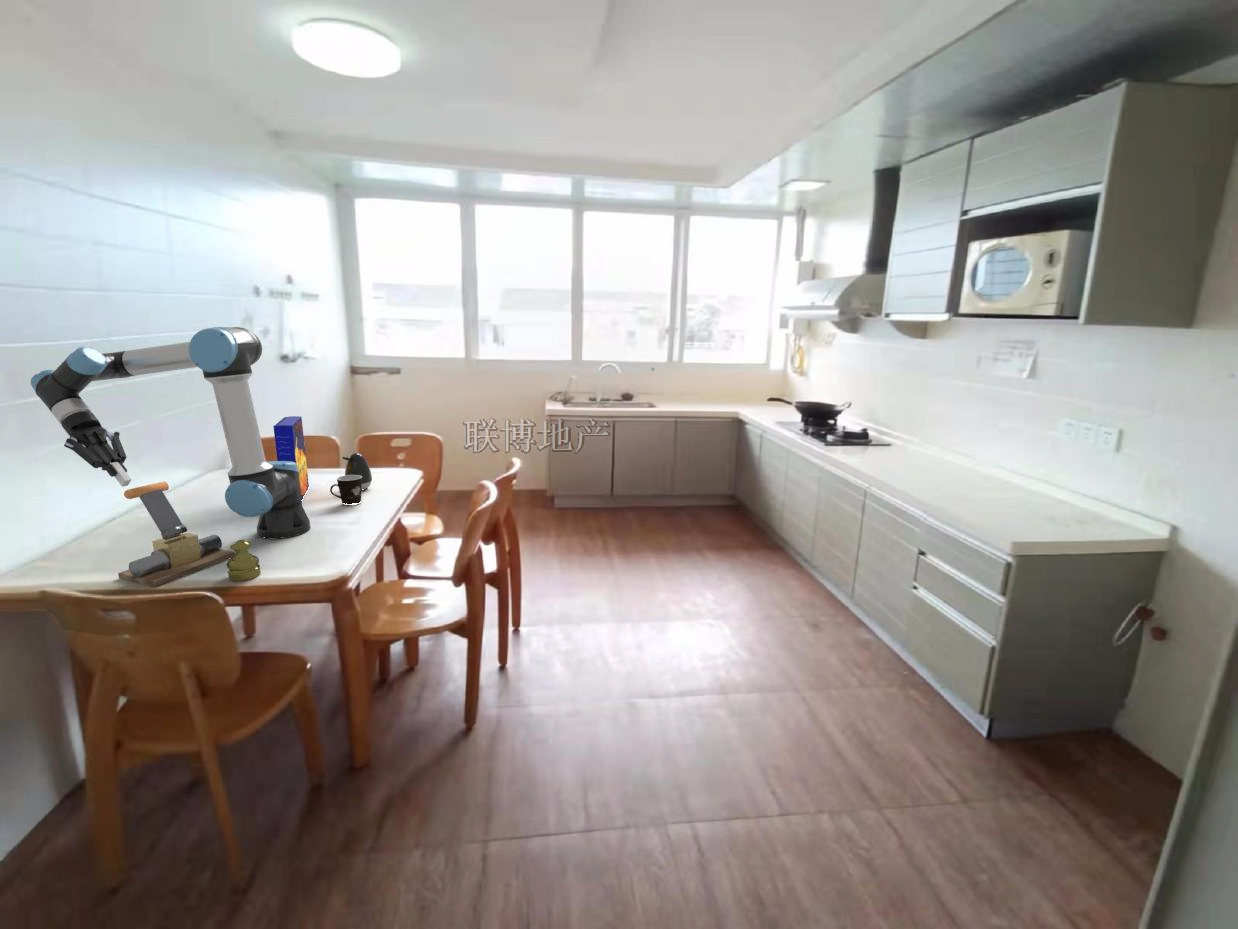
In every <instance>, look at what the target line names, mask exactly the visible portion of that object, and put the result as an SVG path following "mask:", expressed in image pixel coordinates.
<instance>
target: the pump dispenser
mask: <svg viewBox="0 0 1238 929" xmlns="http://www.w3.org/2000/svg"><path fill="white" fill-rule="evenodd" d="M342 460H345V461H347V462H346V466H345V469H344V476H345V475H360V476H362V489H366V488H367V489H369V488H368V487H370V486H371V484H372V481H373V476H372V472H371V471H372V470H371V469H370V466H369V463H368V461H367V459H366V458H365V456H364V455H363V454H362V453H359V452H354V453H352V454H351V455H350V456H342ZM367 489H366V490H367Z"/></svg>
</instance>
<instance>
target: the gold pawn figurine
mask: <svg viewBox="0 0 1238 929" xmlns="http://www.w3.org/2000/svg"><path fill="white" fill-rule="evenodd" d="M251 547H252V542H251V541H249V540H244V539H239V540H236V541H235V542H233V543H231V544H230V545H229V549H230V550H231V551H233V552H235V555H234V556H233V557H232V558H231V559H228V560H227V562H226V567H227V569H228V570H227V574H228V579H229V580H230V581H232V582H243V581H244V582H245V581H248V580H252V579H255V578H257V577H259V576H260V575H261V565H260V558H259V557H258V556H256V555H253V554H252V553H250V552H249V551H248V550H249V548H251Z"/></svg>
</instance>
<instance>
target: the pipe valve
mask: <svg viewBox="0 0 1238 929" xmlns="http://www.w3.org/2000/svg"><path fill="white" fill-rule="evenodd" d="M198 536H199V535H198V534H196V533H195V534H194V533H189V532H187V533H186V534H184V535H181V536H178V537H174V538H171V539H168V540H164V539H163V538H159V539H156V540H152V542H151V543H152V546H153V548H152V549H153V551H152V552H151V553H150V555H148V556H144V557H142V558H139V559H135V560H133V561H132V560H131V562H129V564H128V569H127V570H123V571H120V572H118V573H117V574H118V579H119V578H122V579H121V580H123V579H125V580H124V581H127V582H128V581H129V582H133V583H138V584H140V585H141V584H142V585H146V586H150V587H154V588H156V587H159V586H162V585H165V584H168V583H170V582H173V581H175V580H178V579H181V578H184V577H186V576H189V575H191V574H194V573H196V572H199V571H201V570H202V571H203V570H204V568H205V569H207V568H210V567H213V566H215V565H217V564H220V563H223V562H226V561H228V560H230V559H229V558H231V559H232V557H233V556H234V555H235V554H236V552H235V551H234V550H227V549H221V548H222V545H223V542H222V539H221V537H220V536H219V535H217V534H211V535H209V536H205V537H203V538H200V539H199V537H198ZM227 559H228V560H227ZM222 561H223V562H222ZM185 575H186V576H185ZM177 578H178V579H177Z"/></svg>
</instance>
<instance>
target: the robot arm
mask: <svg viewBox="0 0 1238 929" xmlns="http://www.w3.org/2000/svg"><path fill="white" fill-rule="evenodd" d="M262 354H263V346H262V342H261V340H260V338H259V337H258V336H257V335H256V334H255V333H254V332H253V331H251V330H249V329H247V328H244V327H238V326H237V327H232V326H231V327H225V326H213V327H207V328H203V329H201V330H199V331H197V332H195V334H194V335H193V336H192V337H191V339H190V340H189V341H185V342H178V343H172V344H166V345H165V344H164V345H159V346H158V345H157V346H150V347H145V348H136V349H130V350H129V349H128V350H122V351H116V352H115V351H114V352H106V353H105V352H104V353H101V352H99V351H98V350H96V349H94V348H90V347H88V346H80V347H77V348H76V349H75V350H74V351H73V352H71V353H70V354H69V355H67V357H66V358H65V360H64V361H62V363H60V365H58V367H56V369H45V370H42V371H40V372H39V373H35V374H34V375H33V376H32V377H31V378H30V386H31V388H32V389H33V391H34V393H35V394H36V396H37V397H39V399H40V400H41V401H42V402H43V404H45V406H46V407H47V408H48V410H49V411H50V413H51V414H52V415H53V416H54V418H56V421H57V422H58V423H59V425H61V427H62V428H63V429H64V431H65V432H66V434H67V435H68V436H69V437H68V438H66V440H65V443H64V444H63V446H64V447H65V448H67V449H69V450H71V451H73V452H74V453H75V454H77V455H78V456H80V458H82V459H83V460H84V461H85V462H86V463H88V464H89V465H90V466H91V467H92V468H94V469H99V468H101V471H106V473H108V475H109V477H112V478H113V477H114V478H115V480H116V481H117V482H118V483H119V484H120V486H121V488H123V487H127V486H129V485H130V483H131V481H132V478H131V477H130V476H129V474H128V473H127V472H128V469H127V468H126V467H125V465H124V463H125V461H126V459H127V454H126V452H125V449H124V447H123V445H122V442H121V440H120V432H119V431H114V432H111V431H110V432H109V431H108V430H107V429H106V428H105V427H103V426H102V423H101V422H100V420H99V419H98V417H96V415H95V414H94V413H93V412H92V410H91V409H90V408H89V406H88V405H87V404H86V403H85V401H84V400H83V399H82V397H81V396H80V393H81V392H82V391H83V390H84V389H86V387H87V386H89V384H90V383H92V382H99V381H105V380H112V379H113V380H114V379H126V378H130V377H135V376H141V375H142V376H143V375H148V374H149V375H150V374H158V373H163V372H173V371H178V370H184V369H191V368H193V369H194V368H198V369H200V370H201V371H202V375H203V378H204V380H206V381H208V383H211V385H212V388H213V391H214V397H215V400H216V404H217V409H218V413H219V417H220V421H221V425H222V429H223V433H224V438H225V442H226V445H227V450H228V455H229V459H230V462H231V468H230V469H229V470H228V472H227V475H228V476H227V477H228V480H229V485H228V486H227V488H226V490H225V492H224V500H225V502H226V505H227V506H228V508H229V509H230V510H231V511H233V513H236V514H237V515H239V516H241V517H245V518H254V517H259V518H258V520H257V525H256V534H258V535H257V536H258V537H259V536H260V537H259V538H262V537H265V538H264V539H269V538H276V539H282V538H281V537H286V538H292V537H295V536H294V535H296V536H298V535H297V534H299V535H302V534H304V532H305V531H307V532H308V531H309V530H311V521H310V519H309V516H308V514H307V513H306V511H305V509H304V507H303V502H302V501H301V491H300V481H299V471H298V466H297V464H296V463H295V462H291V461H275V460H273V461H272V460H271V461H268V460H267V459H266V456H265V452H264V447H263V442H262V438H261V433H260V428H259V424H258V419H257V415H256V411H255V406H254V403H253V398H252V393H251V390H250V389H251V388H250V385H249V384H250V383H249V379H250V377H251V376H252V375H253V370H252V365H254V364H256V363H258V361H259V360H260V358H261V356H262ZM107 438H108V439H107ZM108 441H109V442H110V443H109V442H108ZM110 444H111V445H110ZM301 533H302V534H301ZM305 533H306V532H305ZM291 536H292V537H291Z"/></svg>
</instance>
